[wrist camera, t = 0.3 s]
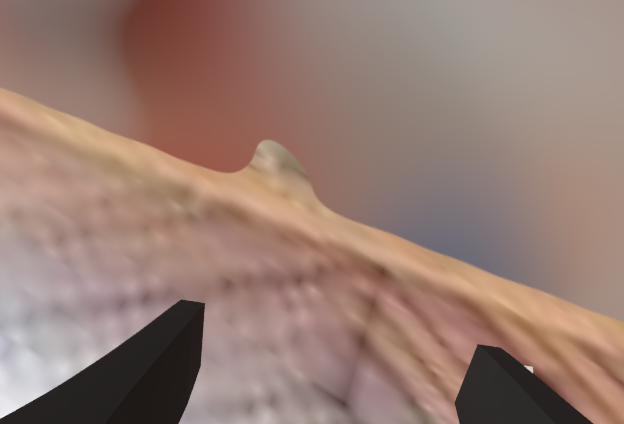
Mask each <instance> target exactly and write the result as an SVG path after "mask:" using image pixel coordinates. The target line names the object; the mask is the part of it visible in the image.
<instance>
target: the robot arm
mask: <svg viewBox="0 0 624 424" xmlns="http://www.w3.org/2000/svg"><path fill="white" fill-rule="evenodd" d="M204 309H205V303H200V302H194V301H187V300H180V301H179V302H177V303H176V304H174V305H173V306H172V307H170V308H169V309H168V310H166V311H165V312H164V313H162V314H161V315H160V316H159V317H157V318H156V319H155V320H153V321H152V322H151V323H149V324H148V325H147V326H145V327H144V328H143V329H141V330H140V331H139V332H137V333H136V334H135V335H133V336H132V337H130V338H129V339H128V340H126V341H125V342H124V343H122V344H121V345H119V346H118V347H117V348H115V349H114V350H112V351H111V352H110V353H108V354H107V355H105V356H104V357H102V358H101V359H99V360H98V361H96V362H95V363H93V364H92V365H90V366H89V367H87V368H85V369H84V370H82V371H81V372H79V373H78V374H76V375H75V376H73V377H72V378H70V379H69V380H67V381H65V382H64V383H62V384H61V385H59V386H57V387H56V388H54V389H52V390H51V391H49V392H47V393H46V394H44V395H42V396H40V397H39V398H37V399H35V400H33V401H32V402H30V403H28V404H26V405H25V406H23V407H21V408H19V409H17V410H16V411H14V412H12V413H10V414H8V415H6V416H5V417H3V418H1V419H0V424H178V423H179V421H180V419H181V417H182V415H183V413H184V410H185V408H186V406H187V404H188V401H189V398H190V395H191V392H192V390H193V387H194V384H195V381H196V378H197V375H198V372H199V369H200V366H201V352H202V338H203V323H204ZM455 406H456V410H457V414H458V418H459V423H460V424H593V423H592V422H591V421H589V420H588V419H587V418H586V417H584V416H583V415H582V414H581V413H580V412H578V411H577V410H576V409H575V408H574V407H572V406H571V405H570V404H569V403H568V402H566V401H565V400H564V399H563V398H562V397H560V396H559V395H558V394H557V393H556V392H554V391H553V390H552V389H551V388H550V387H549V386H547V385H546V384H545V383H544V382H543V381H541V380H540V379H539V378H538V377H537V376H535V375H534V374H533V373H532V372H531V371H530V370H528V369H527V368H526V367H525V366H523V365H522V364H521V363H520V362H519V361H517V360H516V359H515V358H514V357H512V356H511V355H510V354H508V353H507V352H506V351H504V350H503V349H501V348H499V347H492V346H485V345H479V344H478V345H477V348H476V350H475V353H474V355H473V358H472V360H471V363H470V365H469V368H468V370H467V373H466V376H465V378H464V381H463V383H462V386H461V388H460V391H459V393H458V396H457V398H456V401H455Z"/></svg>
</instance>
